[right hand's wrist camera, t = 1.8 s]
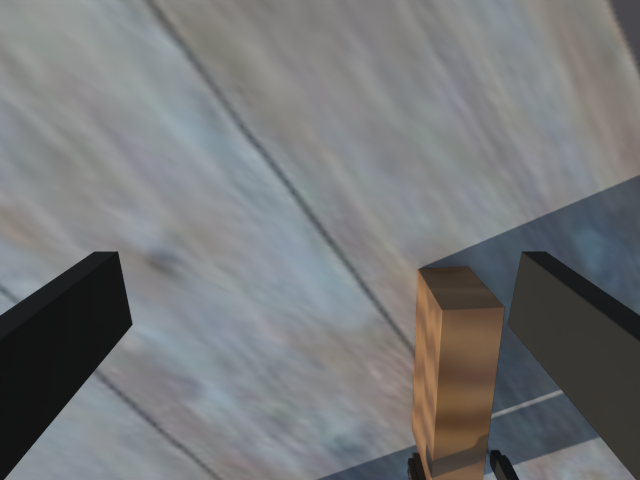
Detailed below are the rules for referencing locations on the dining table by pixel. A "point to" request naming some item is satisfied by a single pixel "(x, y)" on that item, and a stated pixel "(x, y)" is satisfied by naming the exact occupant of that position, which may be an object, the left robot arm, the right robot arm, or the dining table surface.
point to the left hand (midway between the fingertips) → (454, 456)
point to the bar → (454, 371)
